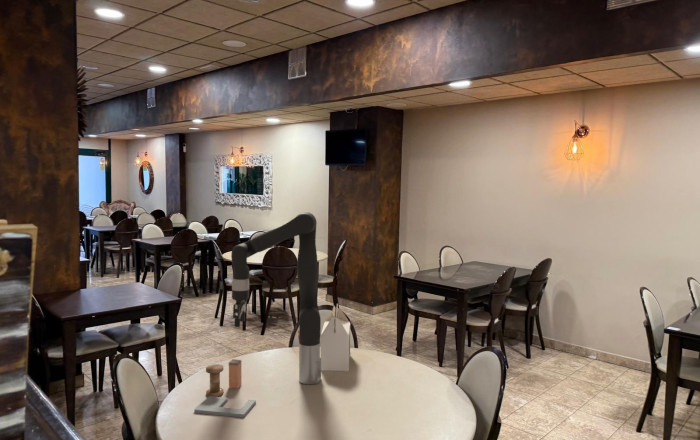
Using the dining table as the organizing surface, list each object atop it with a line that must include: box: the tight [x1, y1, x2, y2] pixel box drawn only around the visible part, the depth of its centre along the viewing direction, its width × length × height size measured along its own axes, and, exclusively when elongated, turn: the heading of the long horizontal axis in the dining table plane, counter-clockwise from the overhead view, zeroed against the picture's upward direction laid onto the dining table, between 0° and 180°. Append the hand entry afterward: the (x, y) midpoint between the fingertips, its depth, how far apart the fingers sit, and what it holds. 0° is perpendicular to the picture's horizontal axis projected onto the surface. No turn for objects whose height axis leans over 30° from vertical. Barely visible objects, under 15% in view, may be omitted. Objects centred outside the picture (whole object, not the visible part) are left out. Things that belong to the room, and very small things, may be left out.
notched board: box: [193, 396, 257, 418], centre depth 182 cm, size 20×12×1 cm, turn 80°
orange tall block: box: [228, 358, 242, 389], centre depth 202 cm, size 4×4×11 cm
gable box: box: [320, 303, 351, 372], centre depth 231 cm, size 22×13×28 cm, turn 178°
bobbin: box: [205, 363, 225, 398], centre depth 194 cm, size 7×7×11 cm
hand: (239, 323), depth 210 cm, fingers open, 8 cm apart
